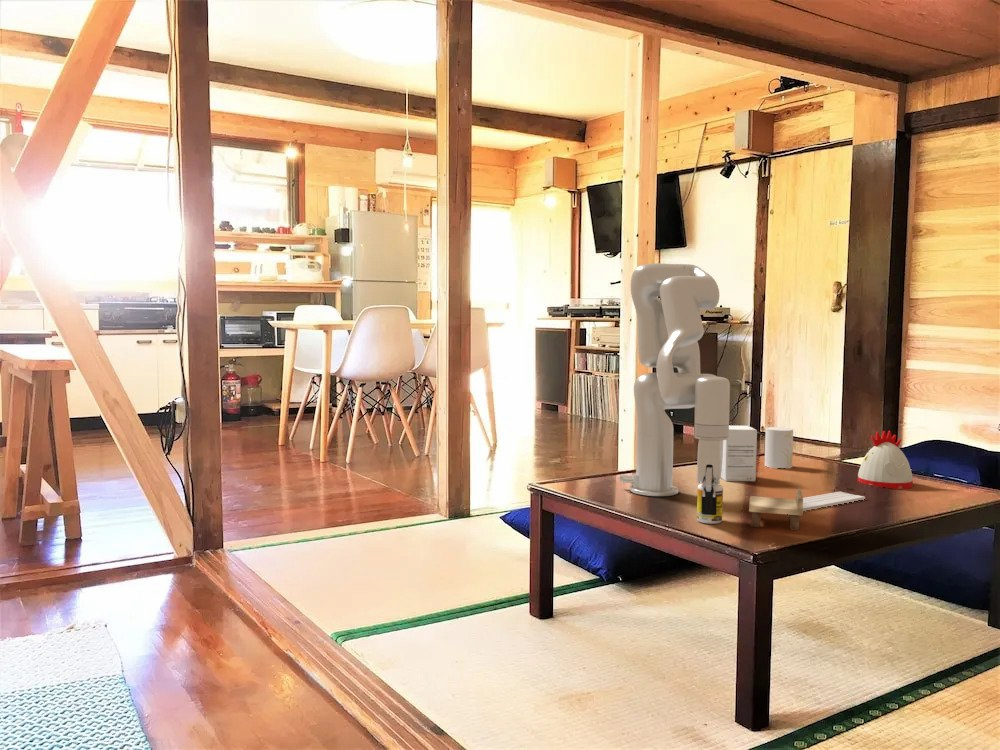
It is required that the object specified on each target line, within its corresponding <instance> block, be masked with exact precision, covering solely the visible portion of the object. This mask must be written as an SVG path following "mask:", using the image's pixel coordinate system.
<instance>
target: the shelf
mask: <svg viewBox="0 0 1000 750" xmlns="http://www.w3.org/2000/svg"><path fill="white" fill-rule="evenodd" d="M803 498H804V497H803V492H802V489H801V488H796V489H795V498H784V497H768V496H767V497H766V496H755V495H749V505H748V508H749V509H748V512H750V513H751V527H752V526H755V527H754V528H760V527H761V513H763V514H778V515H787V514H788V521H789V522H790V523H789V529H790V530H791V529H793V530H792V531H799V530H800V516H804V515H803V514H804V512H803ZM759 526H760V527H759Z"/></svg>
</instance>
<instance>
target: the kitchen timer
mask: <svg viewBox="0 0 1000 750" xmlns="http://www.w3.org/2000/svg"><path fill="white" fill-rule="evenodd" d="M870 437H871V438H870V439H871V441H872V443H873V445H874V446H872V447H871V448H870V449H869V450H868V451H867V452H866V454H865V456H863V457H864V458H863V459H862V461H861V464H860V467H859V470H858V473H857V482H858V481H859V482H861V483H864V484H868V485H874V486H879V487H886V488H885V489H888V488H893V489H894V490H902V489H903V490H904V489H905V490H906V489H911V488H912V487H913V485H914V484H913V483H914V480H913V479H914V477H913V473H912V470H911V466H910V462H909V461H908V458H907V457H906V455H905V454H904V452H903V451H902V450H901V449H900V448H899V446H900V444H901V442H902V439H901V438H899V439H898V440H897V442H896V439H897V435H896V434H893V436H892V432H891V431H890V430H888V431H887V434H886V431H885V430H882V434H881V435H880V433H879V431H878V430H877V431H876V432H875V437H874V436H873V435H871V436H870ZM910 487H911V488H910ZM893 489H892V490H893Z"/></svg>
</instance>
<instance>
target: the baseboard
mask: <svg viewBox="0 0 1000 750" xmlns="http://www.w3.org/2000/svg"><path fill="white" fill-rule="evenodd" d="M837 489H840V488H839V487H837V486H836V487H835V489H832V490H831V492H830V493H823V494H816V495H812V496H807V497H803V511H805V512H807V511H806V510H810V511H812V510H811V509H815V510H818V509H817V508H821V507H826V508H828V507H827V506H831V507H834V506H833V505H837V506H839V505H838V504H842V505H845V504H844V503H847V504H850V503H849V502H852V503H855V502H854V501H858V500H863V501H865V500H866V496H864V495H866V493H865V492H864V493H862V494H863V495H858V494H860V492H857V493H858V494H853V493H855V490H854V489H853V488H848V487H847V488H846V491H848V492H850V491H852V492H853V493H848V492H843V491H835V490H837ZM842 490H844V491H845V489H843V488H842ZM864 499H865V500H864ZM858 502H859V501H858ZM821 509H822V508H821Z"/></svg>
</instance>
